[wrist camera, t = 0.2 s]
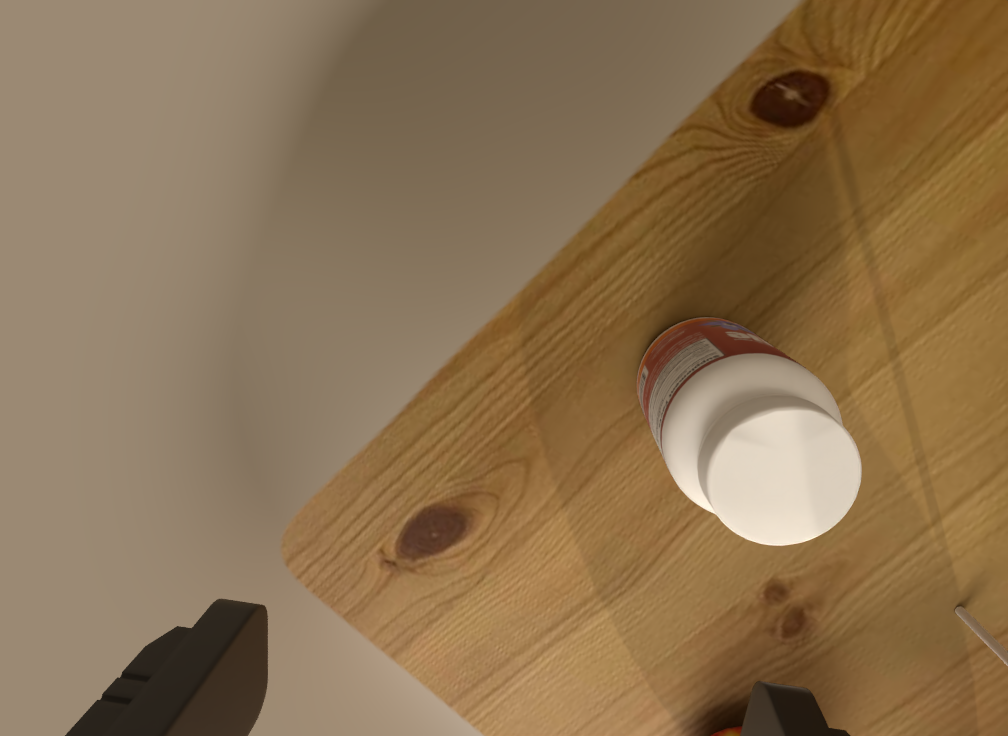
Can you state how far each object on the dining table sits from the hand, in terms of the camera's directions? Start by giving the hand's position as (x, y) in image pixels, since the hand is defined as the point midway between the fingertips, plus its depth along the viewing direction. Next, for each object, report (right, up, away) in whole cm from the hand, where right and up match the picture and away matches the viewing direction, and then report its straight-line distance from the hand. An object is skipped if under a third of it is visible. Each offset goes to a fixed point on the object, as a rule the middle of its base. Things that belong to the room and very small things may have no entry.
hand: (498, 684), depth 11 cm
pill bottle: (+9, +5, +20) cm, 23 cm away
